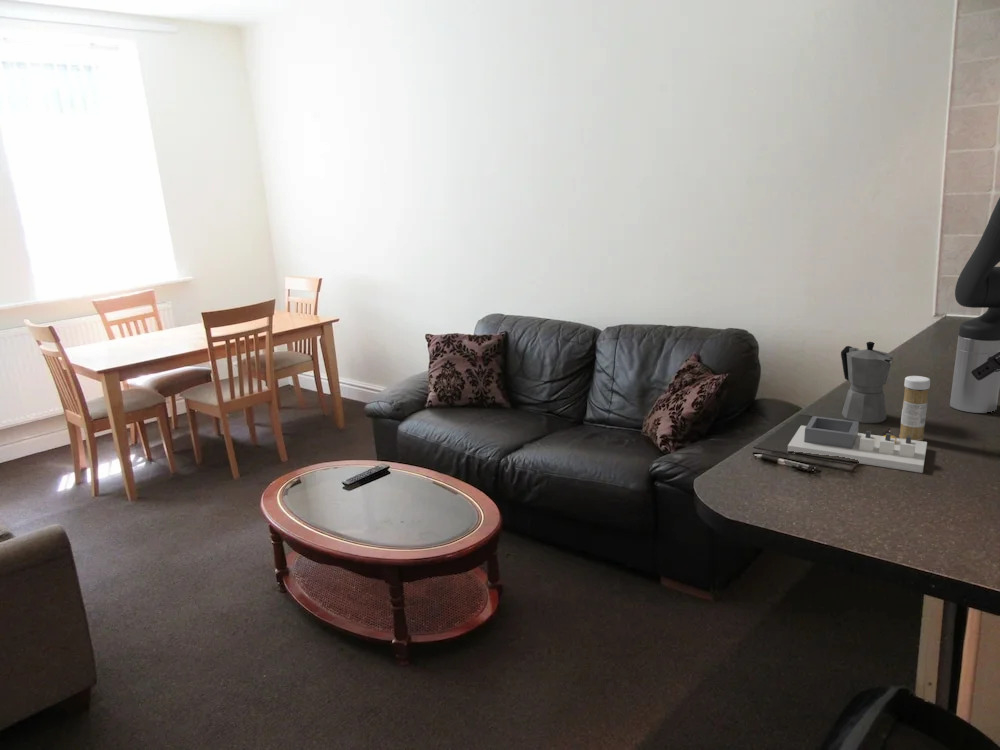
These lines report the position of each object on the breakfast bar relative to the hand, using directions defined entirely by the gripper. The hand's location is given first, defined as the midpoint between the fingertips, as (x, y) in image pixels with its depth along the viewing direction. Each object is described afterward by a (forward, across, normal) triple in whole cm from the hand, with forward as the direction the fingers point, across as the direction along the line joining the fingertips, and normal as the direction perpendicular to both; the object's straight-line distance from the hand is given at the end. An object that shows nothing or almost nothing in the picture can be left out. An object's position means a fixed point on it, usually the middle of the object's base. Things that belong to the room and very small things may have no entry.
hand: (983, 372), depth 134 cm
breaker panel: (+23, +14, 0) cm, 27 cm away
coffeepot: (+30, -8, -6) cm, 32 cm away
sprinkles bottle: (+20, 0, +4) cm, 21 cm away
